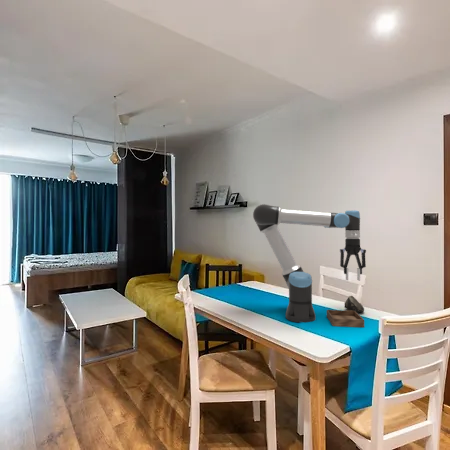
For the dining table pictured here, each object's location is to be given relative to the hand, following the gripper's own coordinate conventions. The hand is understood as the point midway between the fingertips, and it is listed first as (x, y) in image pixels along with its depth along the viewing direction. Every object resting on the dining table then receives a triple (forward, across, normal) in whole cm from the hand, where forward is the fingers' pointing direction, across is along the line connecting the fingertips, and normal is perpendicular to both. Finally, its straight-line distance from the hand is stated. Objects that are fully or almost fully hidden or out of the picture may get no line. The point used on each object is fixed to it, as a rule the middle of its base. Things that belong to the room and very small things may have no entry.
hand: (352, 279), depth 164 cm
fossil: (+19, +2, 0) cm, 19 cm away
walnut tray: (+18, -9, -18) cm, 27 cm away
